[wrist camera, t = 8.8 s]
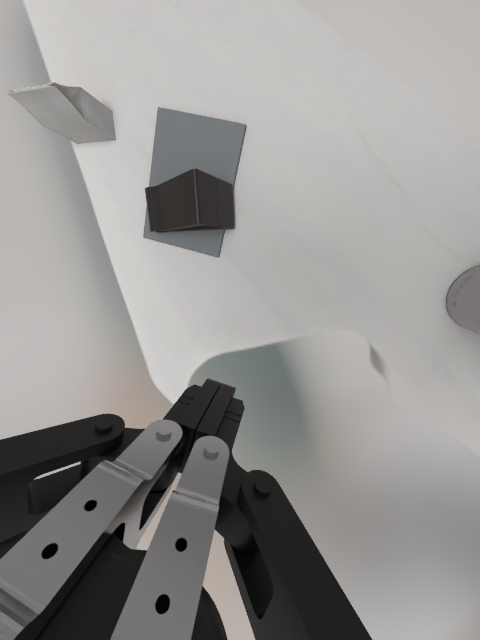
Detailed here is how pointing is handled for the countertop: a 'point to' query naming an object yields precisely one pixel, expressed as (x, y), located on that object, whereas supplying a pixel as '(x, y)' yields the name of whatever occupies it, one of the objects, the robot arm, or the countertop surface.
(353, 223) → the countertop surface
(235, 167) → the mat
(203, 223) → the phone stand
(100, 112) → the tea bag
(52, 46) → the countertop surface
